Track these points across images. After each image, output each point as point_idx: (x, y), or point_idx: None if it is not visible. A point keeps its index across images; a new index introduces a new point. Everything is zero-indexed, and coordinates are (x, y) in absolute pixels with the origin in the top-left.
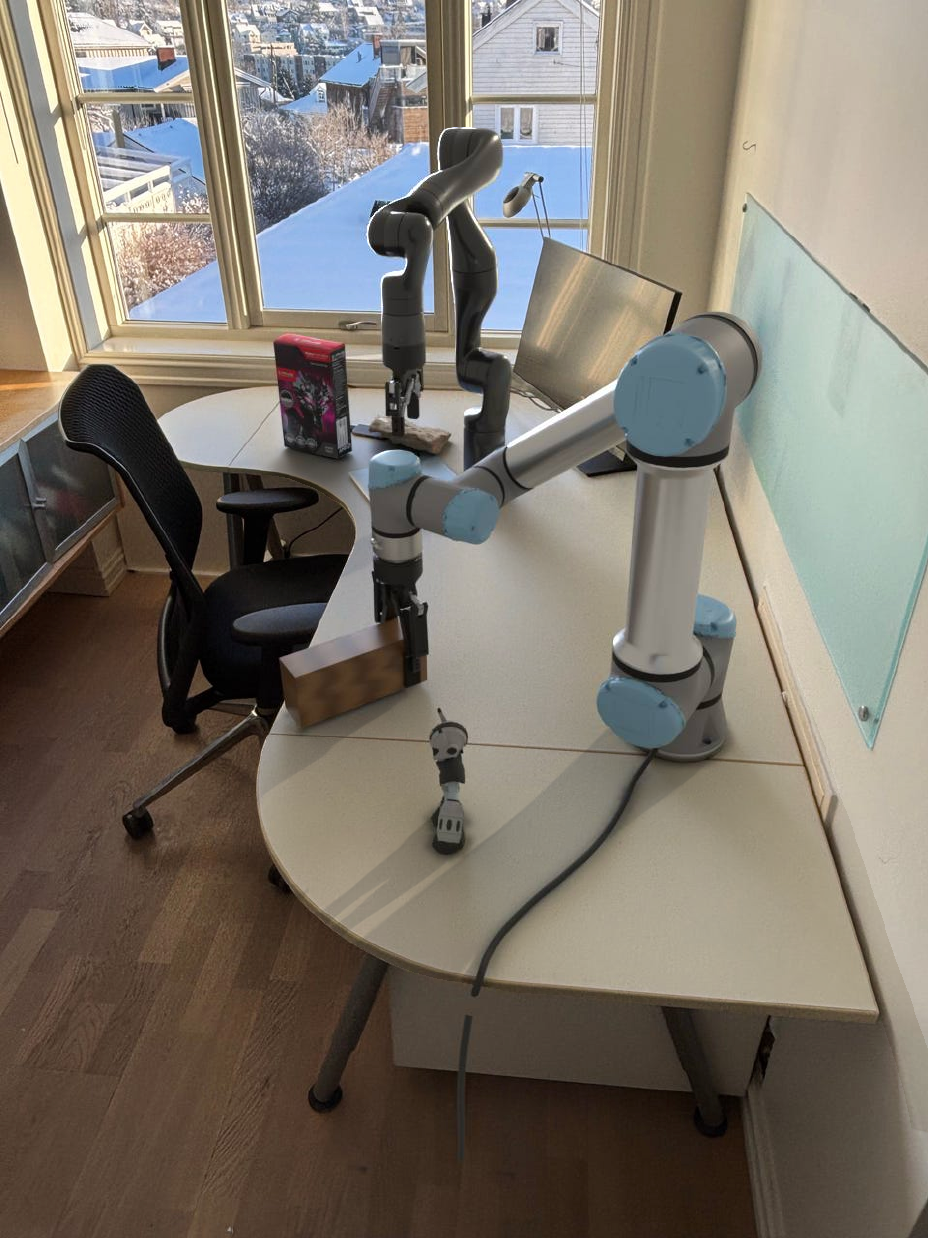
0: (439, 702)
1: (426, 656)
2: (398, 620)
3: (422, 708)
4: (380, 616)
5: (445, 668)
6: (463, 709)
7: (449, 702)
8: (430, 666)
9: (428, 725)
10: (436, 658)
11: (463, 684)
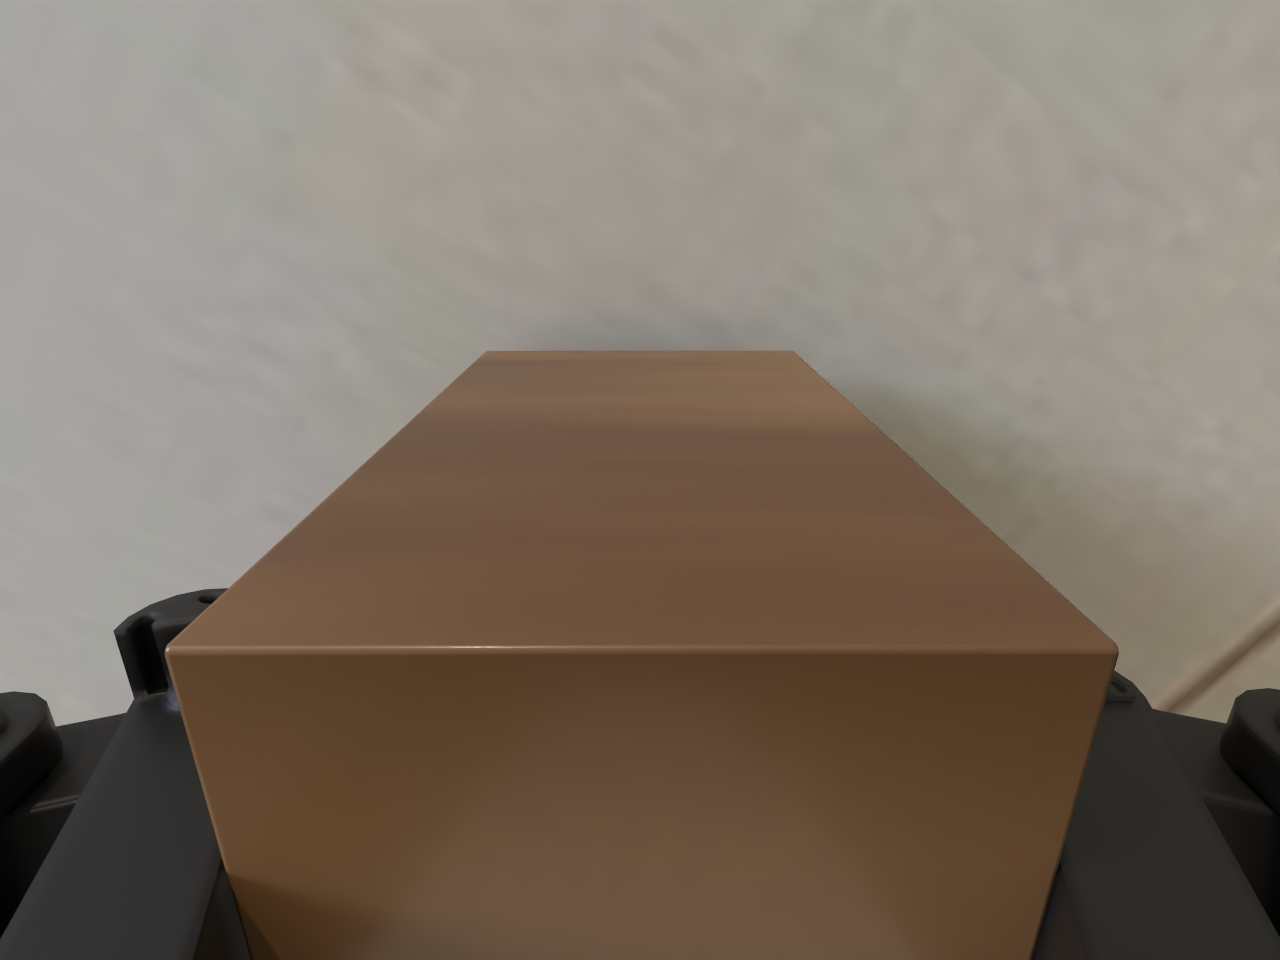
0: (1018, 377)
1: (868, 425)
2: (364, 915)
3: (983, 512)
4: (3, 926)
5: (679, 66)
6: (1220, 262)
7: (1073, 310)
8: (579, 177)
9: (1149, 566)
10: (498, 52)
11: (976, 56)
